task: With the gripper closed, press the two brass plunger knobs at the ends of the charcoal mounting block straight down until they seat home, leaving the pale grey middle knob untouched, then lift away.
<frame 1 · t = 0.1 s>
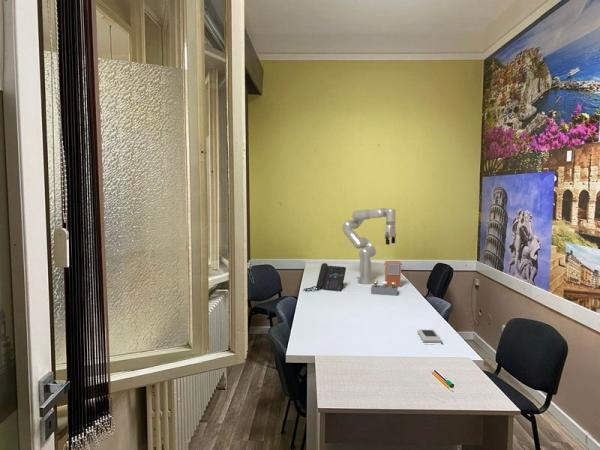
hand: (390, 243, 333), 37 cm above the table, tool pointing down, fingers open, 9 cm apart
control panel: (392, 286, 338), on the table
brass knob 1: (375, 284, 316), point 7 cm above the table, slide at 0.0 cm
grey knob middle: (384, 284, 314), point 7 cm above the table, slide at 0.0 cm
brass knob 2: (393, 285, 313), point 7 cm above the table, slide at 0.0 cm
keypad: (429, 340, 218), on the table
office phone: (324, 289, 330), on the table
mount: (384, 293, 315), on the table
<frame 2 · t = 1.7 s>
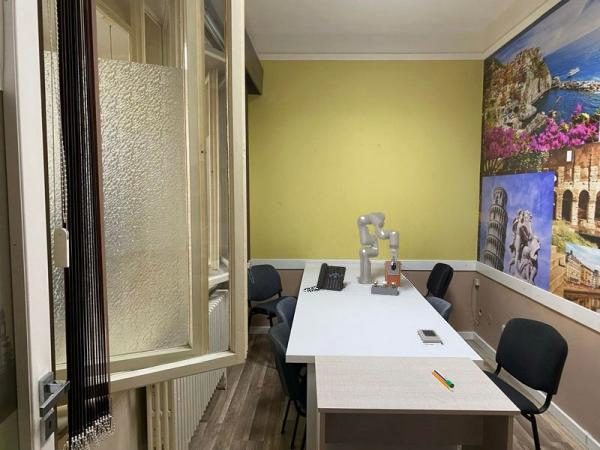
hand: (393, 269, 311), 20 cm above the table, tool pointing down, fingers open, 6 cm apart
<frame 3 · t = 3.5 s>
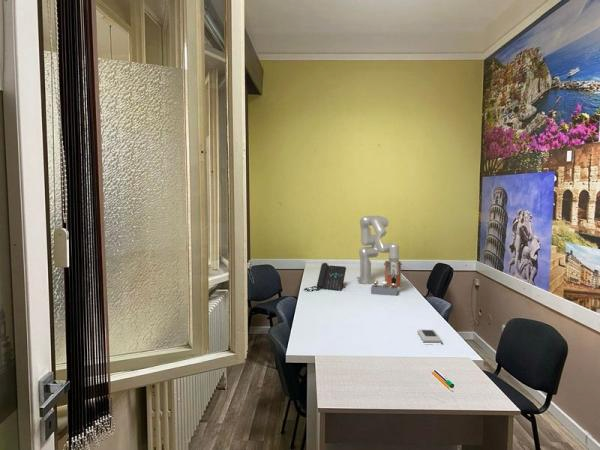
hand: (393, 283, 312), 9 cm above the table, tool pointing down, fingers closed
brass knob 2: (393, 286, 313), point 6 cm above the table, slide at 0.9 cm, touching gripper
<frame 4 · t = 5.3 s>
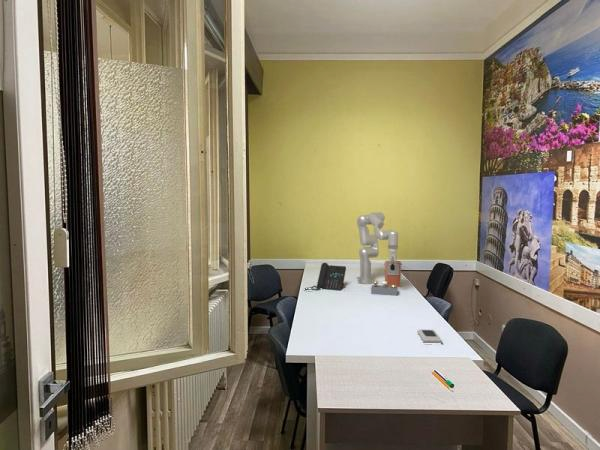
hand: (392, 270, 312), 19 cm above the table, tool pointing down, fingers closed
brass knob 2: (393, 288, 313), point 4 cm above the table, slide at 2.4 cm
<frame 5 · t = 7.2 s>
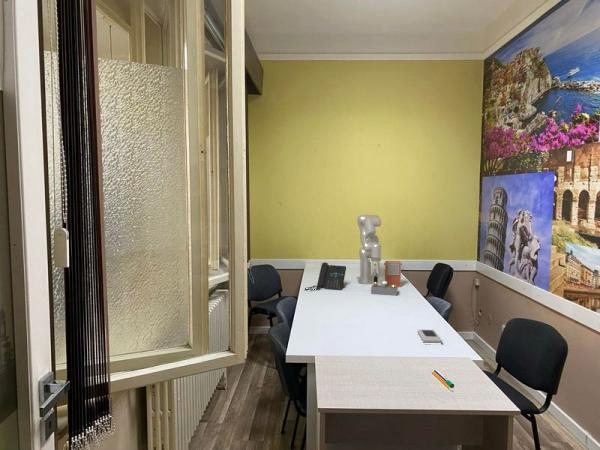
hand: (375, 282, 316), 9 cm above the table, tool pointing down, fingers closed
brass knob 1: (375, 285, 316), point 6 cm above the table, slide at 0.8 cm, touching gripper
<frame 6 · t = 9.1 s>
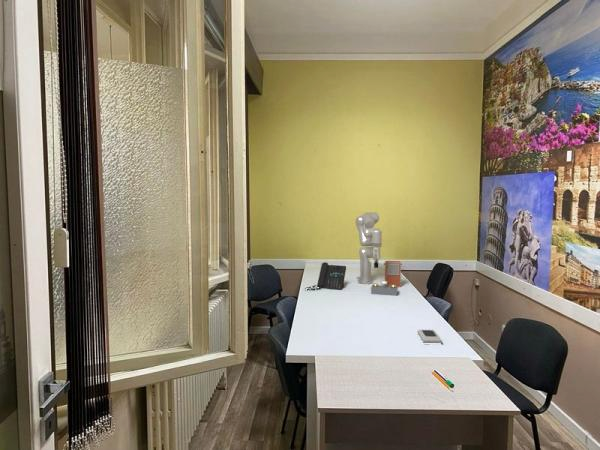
hand: (376, 267, 317), 20 cm above the table, tool pointing down, fingers closed
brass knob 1: (375, 287, 316), point 4 cm above the table, slide at 2.4 cm
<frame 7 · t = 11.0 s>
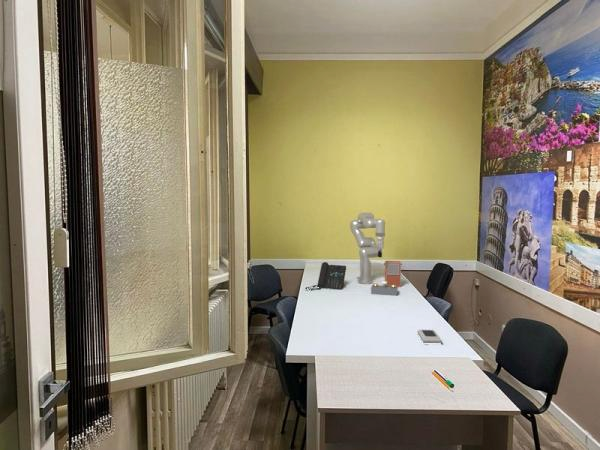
hand: (379, 257, 325), 27 cm above the table, tool pointing down, fingers closed
at the end: brass knob 2 slide at 2.4 cm; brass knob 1 slide at 2.4 cm; grey knob middle slide at 0.0 cm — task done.
